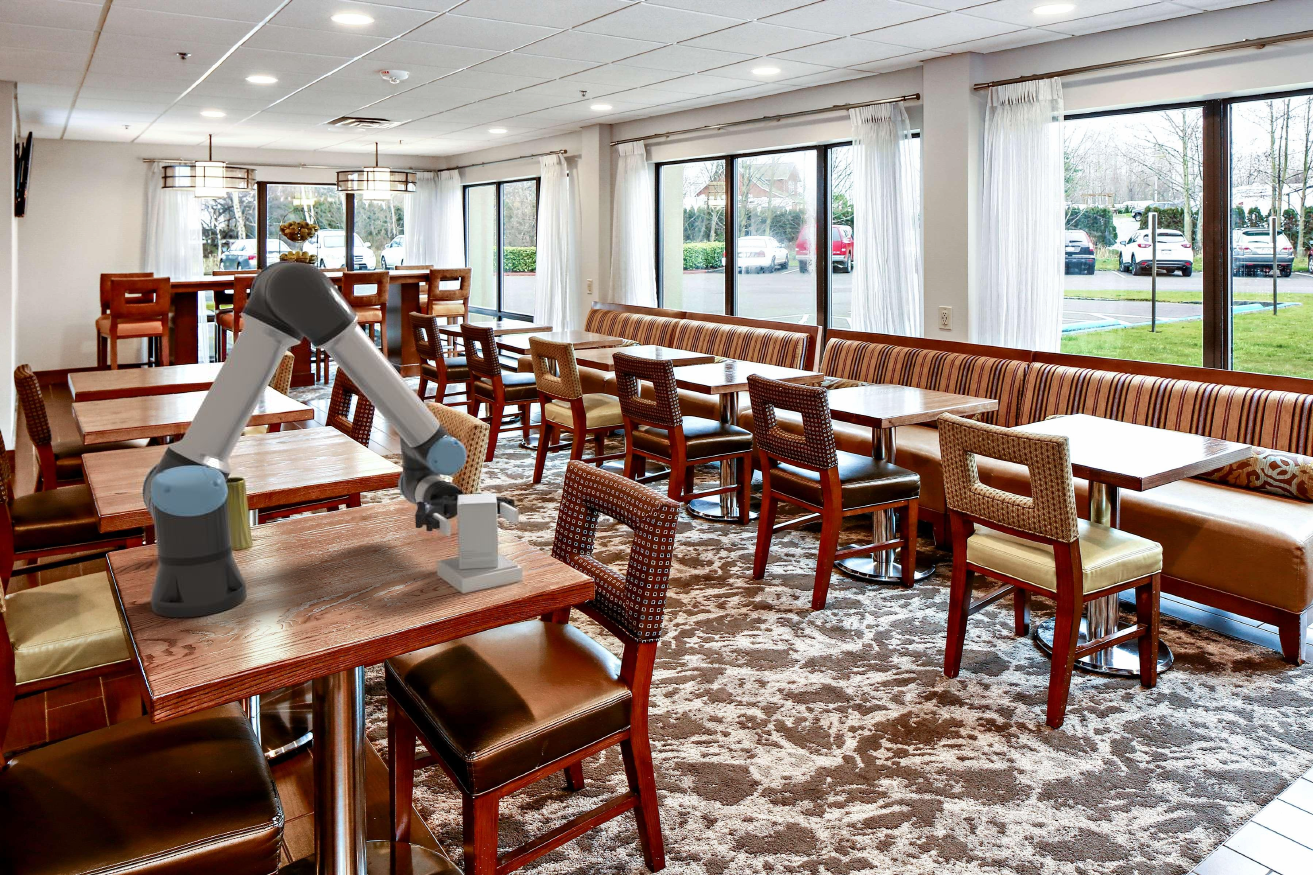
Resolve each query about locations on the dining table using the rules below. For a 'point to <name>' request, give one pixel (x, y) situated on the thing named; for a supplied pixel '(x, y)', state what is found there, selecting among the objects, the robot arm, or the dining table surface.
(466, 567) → the supplement box
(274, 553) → the dining table surface
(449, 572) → the pedestal
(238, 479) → the vase
